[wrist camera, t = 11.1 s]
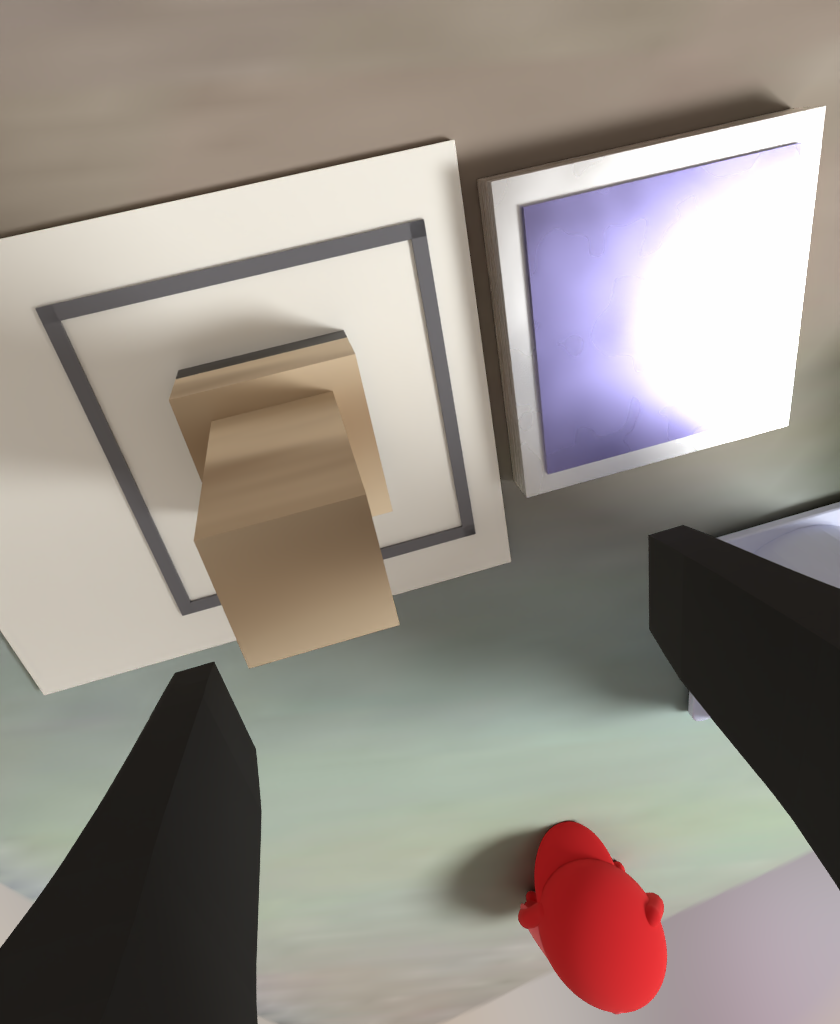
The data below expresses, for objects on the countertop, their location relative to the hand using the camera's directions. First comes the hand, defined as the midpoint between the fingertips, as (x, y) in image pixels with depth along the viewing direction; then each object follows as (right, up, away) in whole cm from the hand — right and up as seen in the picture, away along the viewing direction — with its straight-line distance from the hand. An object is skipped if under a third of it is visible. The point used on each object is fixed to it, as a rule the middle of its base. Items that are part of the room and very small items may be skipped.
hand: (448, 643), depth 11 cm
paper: (-6, +4, +8) cm, 11 cm away
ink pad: (+6, +8, +9) cm, 14 cm away
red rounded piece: (+7, -16, +23) cm, 28 cm away
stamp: (-4, +5, +8) cm, 10 cm away
